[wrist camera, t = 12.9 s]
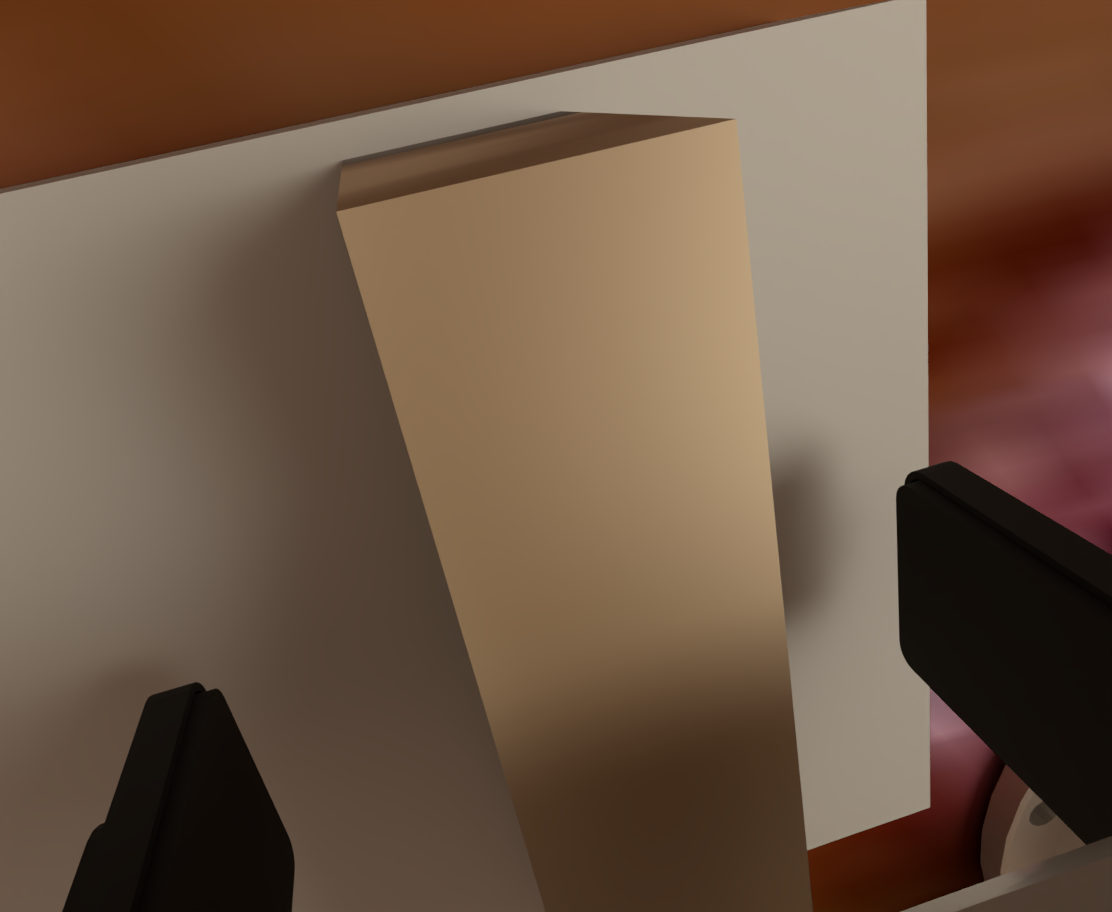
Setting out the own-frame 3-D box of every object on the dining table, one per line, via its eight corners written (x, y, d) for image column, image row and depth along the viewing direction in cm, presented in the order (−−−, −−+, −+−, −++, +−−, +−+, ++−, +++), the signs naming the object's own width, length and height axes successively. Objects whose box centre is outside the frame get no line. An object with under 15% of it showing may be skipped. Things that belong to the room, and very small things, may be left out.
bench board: (777, 21, 14) (925, -7, 10) (824, 678, 20) (930, 807, 16) (-584, 314, 11) (-1011, 413, 8) (-68, 966, 17) (-177, 1193, 14)
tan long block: (561, 111, 10) (736, 119, 5) (696, 866, 15) (838, 1181, 11) (342, 160, 10) (335, 212, 5) (559, 913, 15) (649, 1259, 11)
